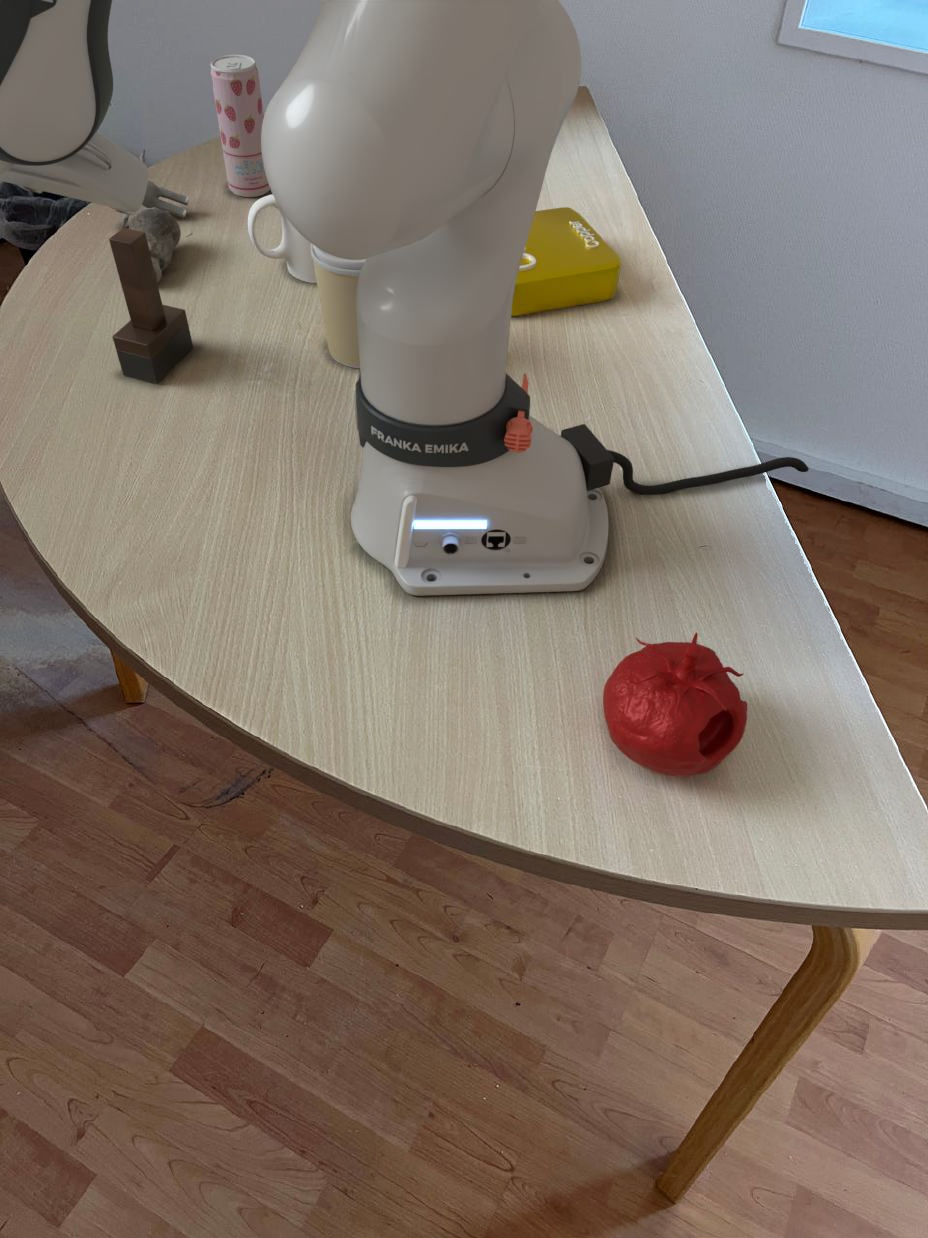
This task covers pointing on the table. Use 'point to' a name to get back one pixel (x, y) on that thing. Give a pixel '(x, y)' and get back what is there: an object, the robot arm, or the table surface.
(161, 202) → the elephant figurine
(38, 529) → the table surface
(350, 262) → the coffee cup
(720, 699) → the red tomato
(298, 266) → the mug
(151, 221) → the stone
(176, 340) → the brush
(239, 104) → the beverage can
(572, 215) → the element tile
